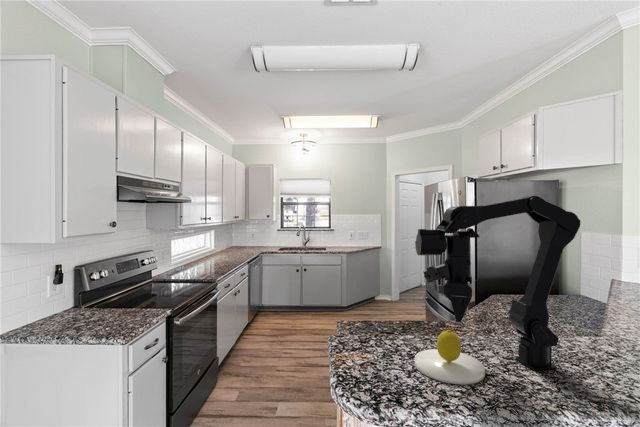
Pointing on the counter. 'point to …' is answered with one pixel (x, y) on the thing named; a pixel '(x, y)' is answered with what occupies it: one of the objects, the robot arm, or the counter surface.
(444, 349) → the lemon
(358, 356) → the counter surface
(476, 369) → the plate
